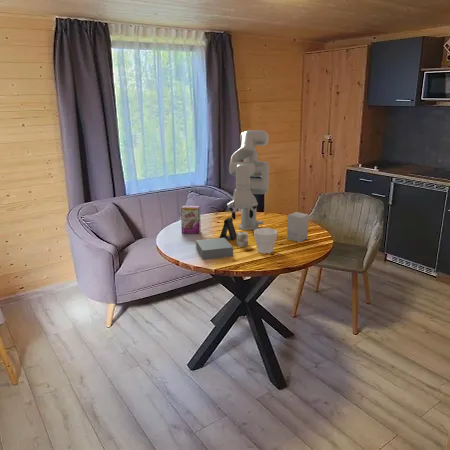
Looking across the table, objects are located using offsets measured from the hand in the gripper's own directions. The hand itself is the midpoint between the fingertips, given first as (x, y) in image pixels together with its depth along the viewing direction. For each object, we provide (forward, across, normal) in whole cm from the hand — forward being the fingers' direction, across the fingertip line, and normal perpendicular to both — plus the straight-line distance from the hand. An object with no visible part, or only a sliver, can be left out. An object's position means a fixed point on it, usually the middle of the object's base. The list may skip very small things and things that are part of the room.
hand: (242, 218), depth 223 cm
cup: (+16, -9, +11) cm, 22 cm away
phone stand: (+16, +4, -15) cm, 22 cm away
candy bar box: (+16, +23, -31) cm, 41 cm away
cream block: (+16, 0, -1) cm, 16 cm away
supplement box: (+16, -34, -2) cm, 38 cm away
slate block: (+16, +18, +6) cm, 25 cm away
